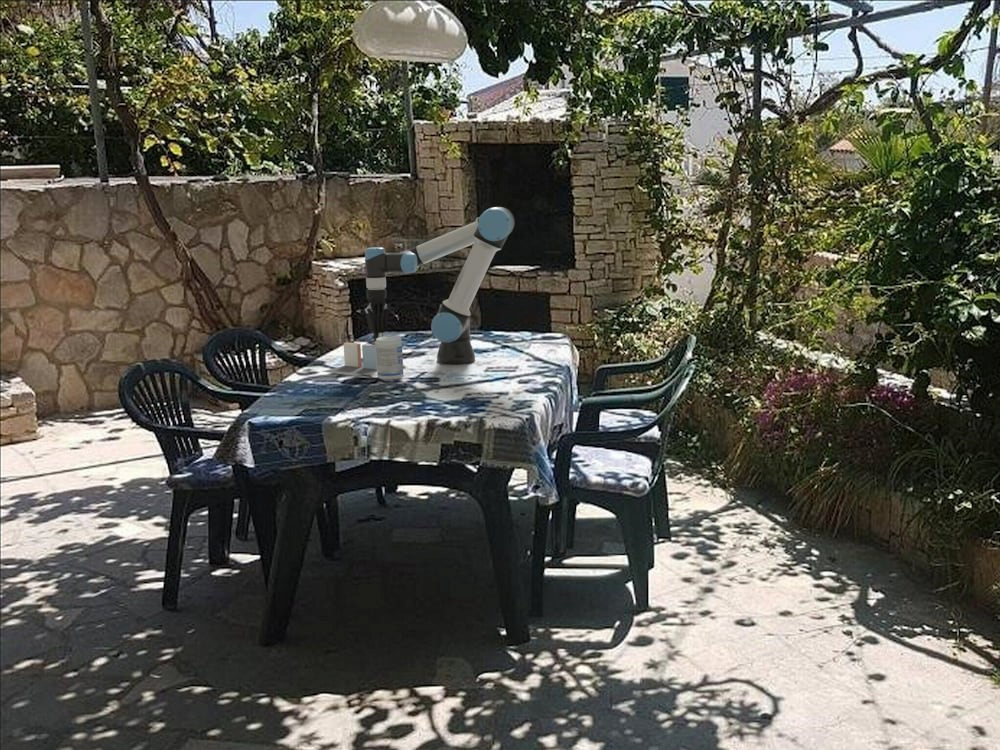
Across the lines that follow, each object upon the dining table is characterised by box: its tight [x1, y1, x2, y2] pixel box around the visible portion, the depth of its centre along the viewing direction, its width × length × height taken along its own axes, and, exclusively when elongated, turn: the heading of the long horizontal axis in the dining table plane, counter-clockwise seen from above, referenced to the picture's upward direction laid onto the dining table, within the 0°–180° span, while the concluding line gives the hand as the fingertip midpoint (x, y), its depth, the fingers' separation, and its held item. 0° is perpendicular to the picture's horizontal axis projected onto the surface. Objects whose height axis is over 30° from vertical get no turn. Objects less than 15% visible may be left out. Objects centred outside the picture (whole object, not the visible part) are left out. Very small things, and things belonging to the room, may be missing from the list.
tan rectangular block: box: [361, 343, 377, 371], centre depth 337 cm, size 7×2×9 cm, turn 57°
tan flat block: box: [343, 341, 362, 367], centre depth 342 cm, size 7×2×9 cm, turn 57°
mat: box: [322, 360, 377, 377], centre depth 339 cm, size 17×22×1 cm
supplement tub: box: [376, 336, 404, 380], centre depth 321 cm, size 10×10×15 cm
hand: (378, 349), depth 340 cm, fingers closed
